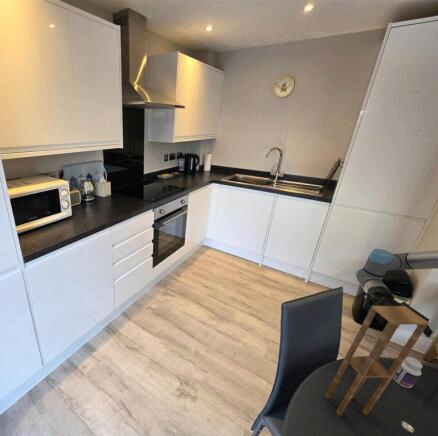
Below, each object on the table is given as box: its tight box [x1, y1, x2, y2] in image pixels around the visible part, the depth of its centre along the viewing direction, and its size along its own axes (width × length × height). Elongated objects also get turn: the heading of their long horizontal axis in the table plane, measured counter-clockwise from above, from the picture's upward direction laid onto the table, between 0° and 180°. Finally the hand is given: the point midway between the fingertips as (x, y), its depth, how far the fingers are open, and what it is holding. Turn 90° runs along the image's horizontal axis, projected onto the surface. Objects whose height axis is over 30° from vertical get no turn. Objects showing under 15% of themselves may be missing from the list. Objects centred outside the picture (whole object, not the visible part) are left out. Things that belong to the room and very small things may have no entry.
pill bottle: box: [392, 356, 423, 389], centre depth 85 cm, size 5×5×10 cm
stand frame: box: [324, 308, 429, 417], centre depth 70 cm, size 10×6×37 cm, turn 93°
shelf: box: [371, 306, 430, 325], centre depth 63 cm, size 10×6×1 cm, turn 93°
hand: (406, 328), depth 89 cm, fingers open, 13 cm apart
